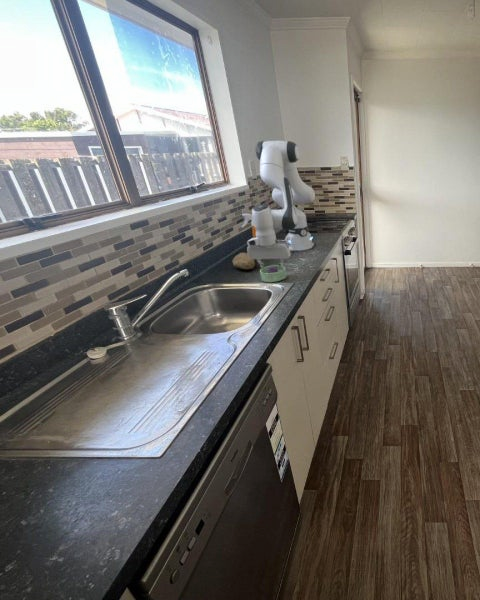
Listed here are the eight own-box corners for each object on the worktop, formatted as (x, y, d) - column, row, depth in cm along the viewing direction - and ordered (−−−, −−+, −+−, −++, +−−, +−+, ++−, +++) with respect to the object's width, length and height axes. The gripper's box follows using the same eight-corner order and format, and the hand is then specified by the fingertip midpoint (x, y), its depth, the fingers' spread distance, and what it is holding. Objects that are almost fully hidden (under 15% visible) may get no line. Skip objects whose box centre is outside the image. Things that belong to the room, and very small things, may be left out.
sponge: (237, 264, 192) (225, 269, 173) (237, 251, 190) (226, 254, 171) (260, 267, 195) (252, 271, 176) (261, 254, 193) (253, 257, 174)
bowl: (257, 278, 168) (255, 269, 166) (279, 272, 175) (278, 263, 173) (268, 285, 160) (266, 275, 158) (291, 278, 168) (289, 269, 165)
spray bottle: (247, 256, 202) (238, 213, 191) (265, 253, 207) (257, 211, 196) (250, 259, 196) (240, 215, 185) (268, 256, 202) (260, 212, 190)
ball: (267, 277, 168) (265, 268, 165) (276, 275, 171) (274, 266, 168) (271, 280, 164) (269, 270, 162) (280, 277, 167) (279, 268, 165)
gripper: (290, 238, 162) (294, 264, 168) (249, 238, 162) (254, 265, 168) (285, 241, 156) (290, 268, 162) (243, 242, 156) (249, 269, 162)
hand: (272, 266), depth 165 cm, fingers open, 8 cm apart
